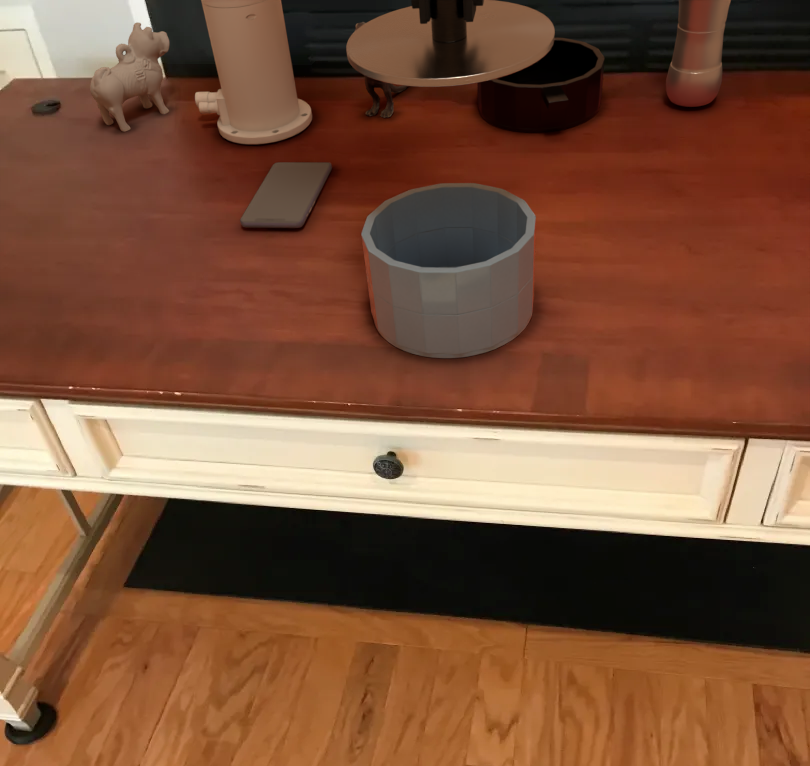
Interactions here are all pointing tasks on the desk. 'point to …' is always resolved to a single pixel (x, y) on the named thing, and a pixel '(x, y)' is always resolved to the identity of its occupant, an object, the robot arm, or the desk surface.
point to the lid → (450, 44)
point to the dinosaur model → (386, 88)
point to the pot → (450, 268)
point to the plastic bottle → (697, 53)
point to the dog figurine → (132, 75)
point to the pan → (546, 91)
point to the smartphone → (286, 195)
